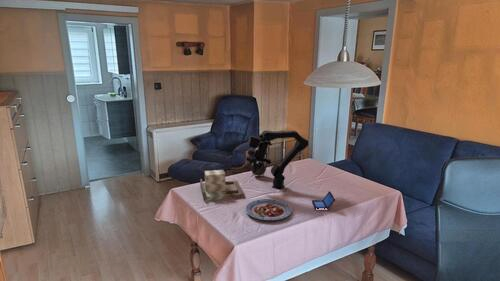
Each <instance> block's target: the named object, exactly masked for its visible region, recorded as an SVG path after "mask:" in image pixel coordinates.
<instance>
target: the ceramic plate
mask: <svg viewBox="0 0 500 281" xmlns="http://www.w3.org/2000/svg"><path fill="white" fill-rule="evenodd" d="M244 209H245V212H246V213H247V214H248V216H250V217H253V218H254V219H258V220H263V221H276V220H277V221H278V220H282V219H285V218H287V217H288V216H290V215H291V213H292V207H291V206H290V205H289V204H288V203H287V202H285V201H282V200H278V199H272V198H260V199H255V200H252V201H250V202H248V203H247V204H246V205H245V208H244Z"/></svg>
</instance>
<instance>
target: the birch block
mask: <svg viewBox="0 0 500 281" xmlns="http://www.w3.org/2000/svg"><path fill="white" fill-rule="evenodd" d="M225 181H226V172H225V170H224V169H218V170H217V169H216V170H215V169H214V170H204V183H205V189H206V192H213V191H225Z"/></svg>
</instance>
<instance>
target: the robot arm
mask: <svg viewBox="0 0 500 281" xmlns="http://www.w3.org/2000/svg"><path fill="white" fill-rule="evenodd" d="M290 138H291V139H292V138H293V139H294V140H295V143H294V146H293V148H292V149H291V150H290V151H288V153H287V155H286V156H285V157H283V159H282V160H281V161H280V162H279V163H274V164H273V166H271V169H270V174H271V175H272V176H273V180H272V186H271V188H273V189H278V190H282V189H283V188H285V187H286V186H285V179H286V177H285V175H283V173H285V172H284V171H285V169H286V167H287V166H288V165H289V164H291V162H292V160H293V159H295V157H296V156H297V155H298V154H299V153H300V152H302V151H304V150H306V148H307V147H309V144H310V143H309V141H308V140H307V139H306V138H305V137H303V136H302V135H300V134H299V133H298V132H297V131H296V130H289V131H288V130H285V131H272V130H263V131H262V132H261V134H259V135H258V136H257V137H256V136H253V135H250V137H249V138H248V140H247V142H246V146H247V147H249V148H253V149H255V150H254V151H253V150H252V149H248V151H247V156H246V158H245V161H247V162H249V163H250V164H252V163H253V164H254V172H255V173H256V172H257V171H258V170H259V169H260V168H261V167H262V166H263V165H265V164H266V165H271V163H272V161H271V159H270V158H268V157H266V155H268V152H267V151H268V148H269V146H273V143H272V141H275V140H277V139H290ZM263 162H264V163H265V164H263Z"/></svg>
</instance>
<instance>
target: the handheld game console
mask: <svg viewBox="0 0 500 281" xmlns="http://www.w3.org/2000/svg"><path fill="white" fill-rule="evenodd" d="M334 202H336V201H335V198H334V195H333V193H332V191H328V192H327V194H326V195H325V196H324V198H323V199H313V200H311V203H312V206H313V205H314V206H313V208H314V207H315V208H314V210H315V209H316V208H317V209H319V208H324V209H325V208H327V209H328V210H329V209H330V208H331V206H332V205H333V204H334Z"/></svg>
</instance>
